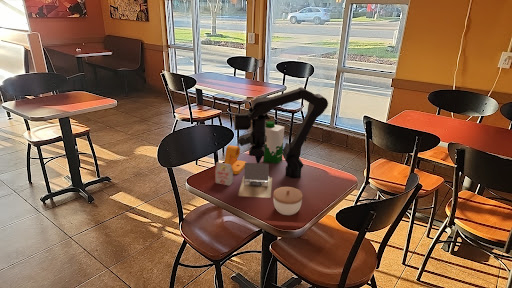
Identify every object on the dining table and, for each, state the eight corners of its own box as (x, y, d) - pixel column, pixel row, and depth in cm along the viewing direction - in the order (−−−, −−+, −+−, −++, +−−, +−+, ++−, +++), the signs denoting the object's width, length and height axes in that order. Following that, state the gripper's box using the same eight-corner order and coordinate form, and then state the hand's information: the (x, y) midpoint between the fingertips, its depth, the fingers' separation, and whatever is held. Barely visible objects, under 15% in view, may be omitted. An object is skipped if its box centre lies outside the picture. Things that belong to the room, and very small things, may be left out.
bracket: (238, 176, 148) (238, 152, 143) (223, 173, 150) (223, 149, 145) (247, 166, 157) (247, 143, 152) (233, 164, 159) (233, 141, 155)
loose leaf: (267, 187, 136) (267, 186, 138) (268, 163, 135) (269, 163, 138) (243, 185, 136) (244, 185, 138) (245, 162, 136) (245, 162, 138)
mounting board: (272, 179, 145) (272, 177, 145) (270, 199, 129) (270, 197, 129) (243, 178, 146) (243, 176, 146) (238, 198, 130) (238, 195, 130)
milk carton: (269, 156, 169) (270, 119, 161) (284, 160, 164) (286, 122, 157) (260, 162, 162) (261, 123, 154) (276, 166, 157) (278, 127, 150)
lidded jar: (271, 218, 118) (272, 196, 114) (273, 202, 128) (274, 181, 124) (301, 221, 116) (302, 198, 113) (301, 205, 126) (303, 183, 123)
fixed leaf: (268, 177, 145) (269, 172, 144) (267, 188, 136) (267, 183, 135) (246, 176, 146) (246, 171, 145) (243, 186, 137) (244, 181, 136)
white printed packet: (218, 181, 143) (218, 160, 140) (233, 183, 141) (232, 162, 137) (215, 184, 140) (214, 163, 136) (229, 187, 138) (229, 166, 134)
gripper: (242, 121, 146) (242, 153, 152) (236, 136, 128) (236, 171, 134) (267, 122, 145) (266, 154, 151) (264, 137, 128) (263, 172, 134)
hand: (258, 162), depth 142 cm, fingers closed
